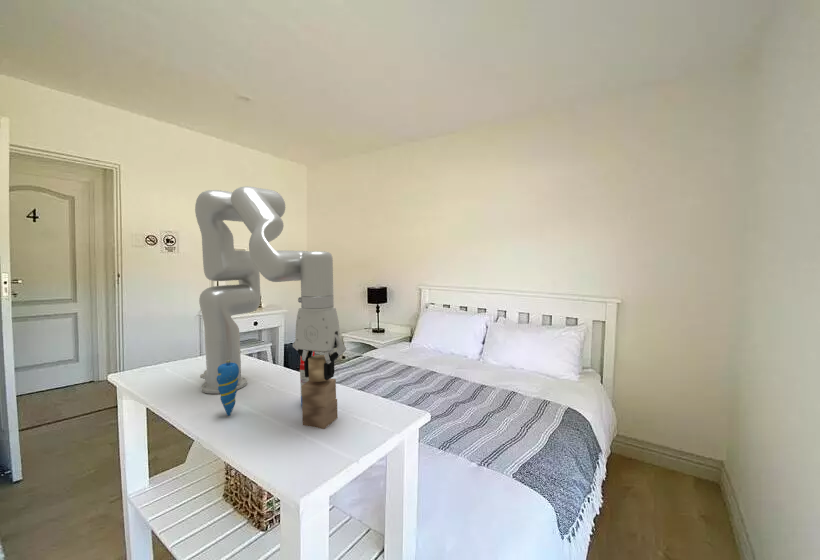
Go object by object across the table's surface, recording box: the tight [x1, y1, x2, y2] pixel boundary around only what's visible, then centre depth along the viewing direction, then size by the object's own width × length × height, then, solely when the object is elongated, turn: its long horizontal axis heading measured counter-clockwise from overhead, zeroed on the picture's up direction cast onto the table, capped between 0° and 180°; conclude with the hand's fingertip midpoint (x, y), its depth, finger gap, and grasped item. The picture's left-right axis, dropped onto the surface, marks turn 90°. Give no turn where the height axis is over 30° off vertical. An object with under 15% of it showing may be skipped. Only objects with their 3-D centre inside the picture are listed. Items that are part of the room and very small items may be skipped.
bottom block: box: [301, 398, 339, 430], centre depth 88 cm, size 6×6×5 cm
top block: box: [301, 377, 337, 408], centre depth 88 cm, size 6×6×5 cm
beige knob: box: [308, 354, 326, 382], centre depth 87 cm, size 5×5×5 cm
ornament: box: [217, 358, 239, 417], centre depth 91 cm, size 5×5×15 cm
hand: (319, 376), depth 88 cm, fingers closed on beige knob, 4 cm apart
